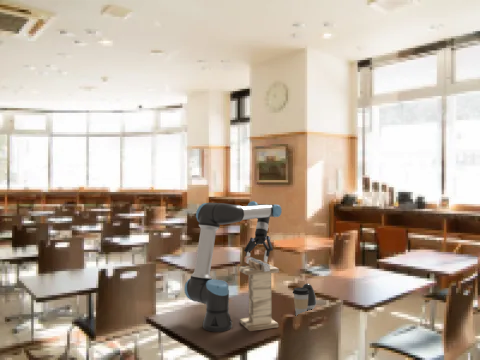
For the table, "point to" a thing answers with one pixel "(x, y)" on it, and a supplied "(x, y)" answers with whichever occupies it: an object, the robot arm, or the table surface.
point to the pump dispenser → (310, 297)
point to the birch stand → (259, 297)
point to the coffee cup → (300, 299)
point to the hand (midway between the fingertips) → (256, 262)
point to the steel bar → (263, 265)
